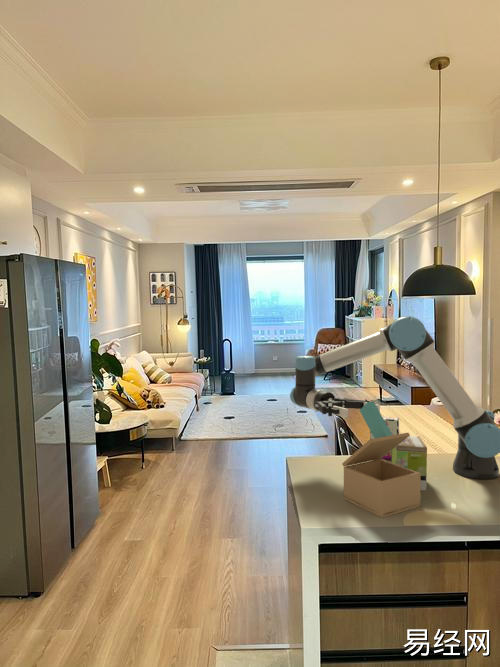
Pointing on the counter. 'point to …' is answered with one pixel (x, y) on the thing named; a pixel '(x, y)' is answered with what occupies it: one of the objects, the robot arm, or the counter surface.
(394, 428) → the candy bar box
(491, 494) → the counter surface
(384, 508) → the carton
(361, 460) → the carton lid
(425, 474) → the tea box
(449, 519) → the counter surface
